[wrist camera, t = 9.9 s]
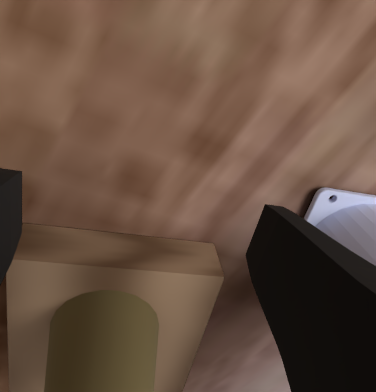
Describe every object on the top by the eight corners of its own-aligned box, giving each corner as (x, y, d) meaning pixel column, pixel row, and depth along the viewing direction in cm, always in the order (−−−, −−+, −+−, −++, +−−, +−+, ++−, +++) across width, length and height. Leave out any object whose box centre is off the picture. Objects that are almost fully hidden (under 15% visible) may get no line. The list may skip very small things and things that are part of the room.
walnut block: (213, 243, 21) (224, 277, 19) (176, 357, 26) (180, 395, 24) (23, 223, 19) (5, 258, 16) (22, 352, 24) (9, 395, 21)
